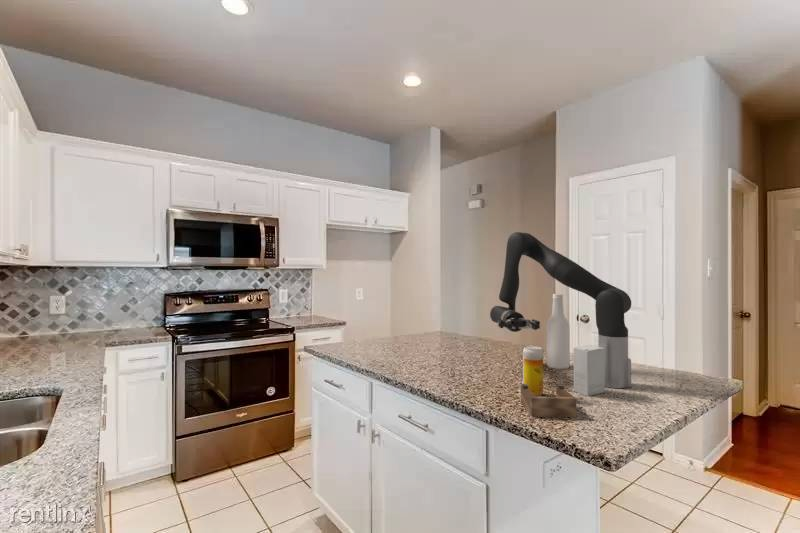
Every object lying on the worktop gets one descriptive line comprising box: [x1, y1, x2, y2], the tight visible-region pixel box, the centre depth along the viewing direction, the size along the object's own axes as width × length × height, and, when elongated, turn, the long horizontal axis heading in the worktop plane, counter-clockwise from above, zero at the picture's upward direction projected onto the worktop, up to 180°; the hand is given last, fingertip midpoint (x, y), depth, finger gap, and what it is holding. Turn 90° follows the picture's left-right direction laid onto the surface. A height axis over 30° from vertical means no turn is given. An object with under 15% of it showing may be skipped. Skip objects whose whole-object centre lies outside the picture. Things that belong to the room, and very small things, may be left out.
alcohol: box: [546, 293, 571, 370], centre depth 169 cm, size 9×9×30 cm
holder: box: [520, 383, 577, 418], centre depth 118 cm, size 12×12×6 cm
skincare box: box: [573, 344, 606, 397], centre depth 134 cm, size 8×6×15 cm
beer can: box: [522, 345, 544, 397], centre depth 132 cm, size 6×6×15 cm
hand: (523, 326), depth 143 cm, fingers open, 8 cm apart
